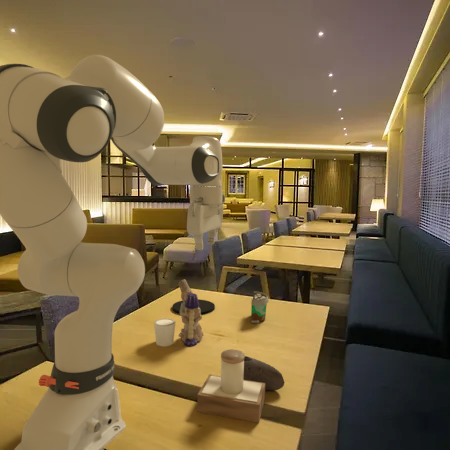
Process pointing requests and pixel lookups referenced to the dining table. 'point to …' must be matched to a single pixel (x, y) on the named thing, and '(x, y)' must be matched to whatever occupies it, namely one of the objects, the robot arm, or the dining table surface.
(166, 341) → the shot glass
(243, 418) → the walnut plinth
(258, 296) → the food container
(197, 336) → the figurine
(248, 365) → the brown oblong lump
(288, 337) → the dining table surface
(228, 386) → the cream canister
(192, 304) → the toy lamp
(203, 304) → the wireless charger
